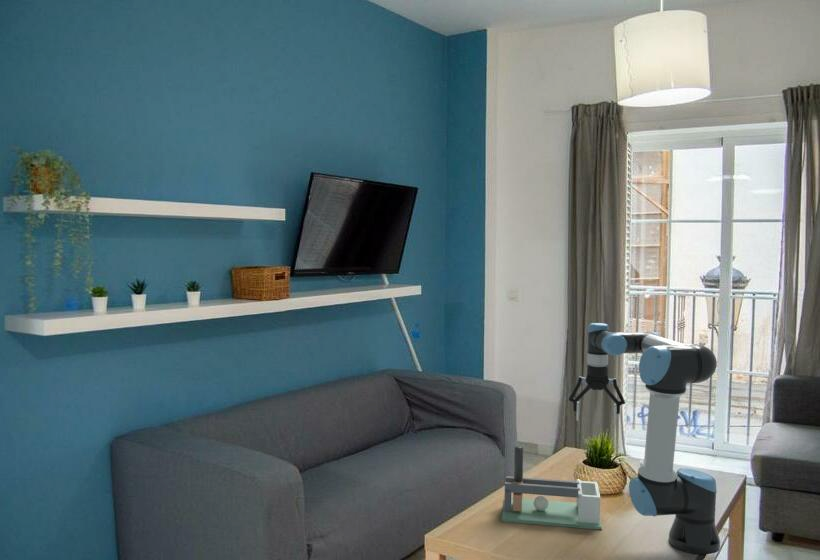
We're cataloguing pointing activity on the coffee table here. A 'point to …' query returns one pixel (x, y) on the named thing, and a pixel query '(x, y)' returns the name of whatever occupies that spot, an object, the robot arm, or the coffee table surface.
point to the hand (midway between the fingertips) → (596, 421)
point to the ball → (540, 503)
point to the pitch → (555, 503)
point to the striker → (518, 477)
